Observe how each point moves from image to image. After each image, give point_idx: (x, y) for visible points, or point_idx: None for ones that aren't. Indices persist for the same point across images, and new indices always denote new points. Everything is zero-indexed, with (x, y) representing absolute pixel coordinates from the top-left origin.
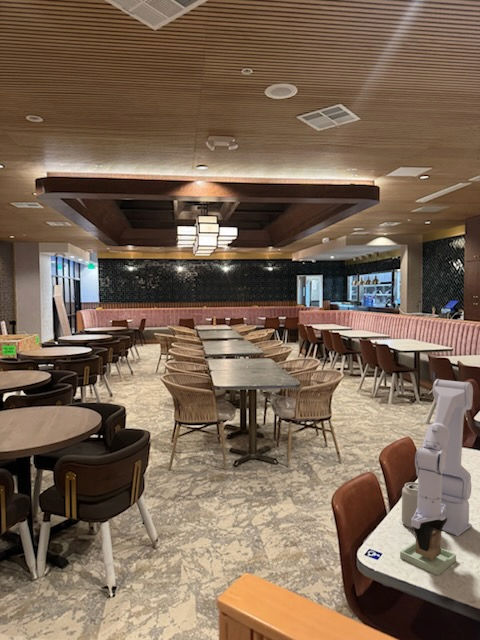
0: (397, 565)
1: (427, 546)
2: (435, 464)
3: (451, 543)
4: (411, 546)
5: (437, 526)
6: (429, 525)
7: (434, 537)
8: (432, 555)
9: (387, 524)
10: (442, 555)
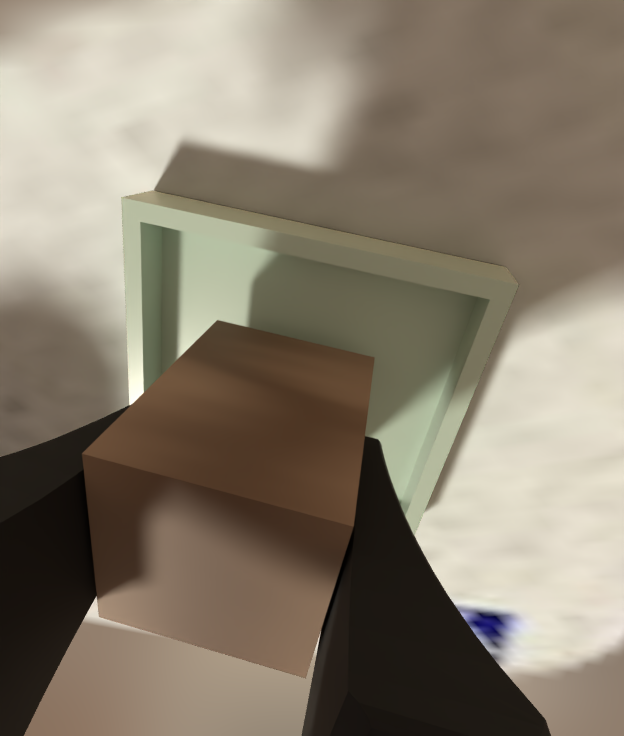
0: (518, 522)
1: (387, 473)
2: None
3: None
4: None
5: (48, 538)
6: (81, 588)
7: (302, 493)
8: (367, 377)
9: (95, 612)
10: (179, 304)
